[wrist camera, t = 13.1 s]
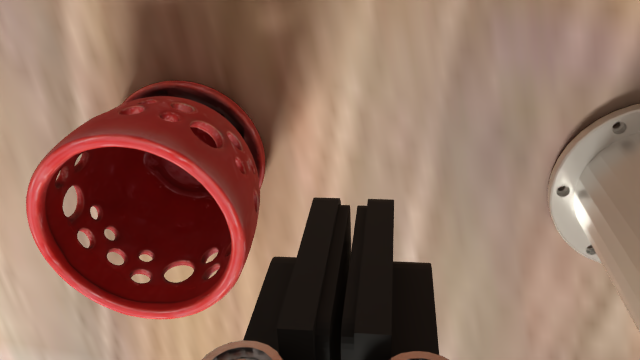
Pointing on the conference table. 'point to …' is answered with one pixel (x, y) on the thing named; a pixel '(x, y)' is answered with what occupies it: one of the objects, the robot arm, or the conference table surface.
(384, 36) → the conference table surface
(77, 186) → the plant pot
